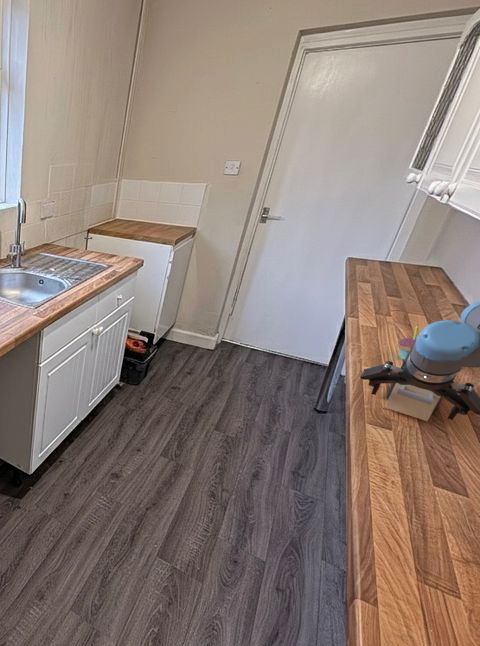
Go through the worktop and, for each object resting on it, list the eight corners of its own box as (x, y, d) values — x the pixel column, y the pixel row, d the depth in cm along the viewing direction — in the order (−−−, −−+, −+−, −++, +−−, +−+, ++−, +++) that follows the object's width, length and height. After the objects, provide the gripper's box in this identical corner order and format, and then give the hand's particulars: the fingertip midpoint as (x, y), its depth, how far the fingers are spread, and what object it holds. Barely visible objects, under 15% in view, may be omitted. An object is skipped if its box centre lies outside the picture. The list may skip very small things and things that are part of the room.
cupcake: (394, 360, 133) (410, 326, 128) (389, 350, 139) (404, 318, 134) (432, 368, 128) (450, 333, 123) (425, 357, 134) (442, 324, 130)
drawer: (424, 429, 99) (443, 394, 95) (380, 413, 105) (396, 380, 101) (434, 402, 110) (451, 370, 106) (393, 389, 115) (408, 358, 111)
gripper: (348, 360, 96) (341, 392, 111) (516, 409, 78) (482, 440, 93) (362, 334, 97) (353, 369, 112) (531, 376, 79) (495, 411, 94)
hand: (411, 401), depth 102 cm, fingers open, 13 cm apart
